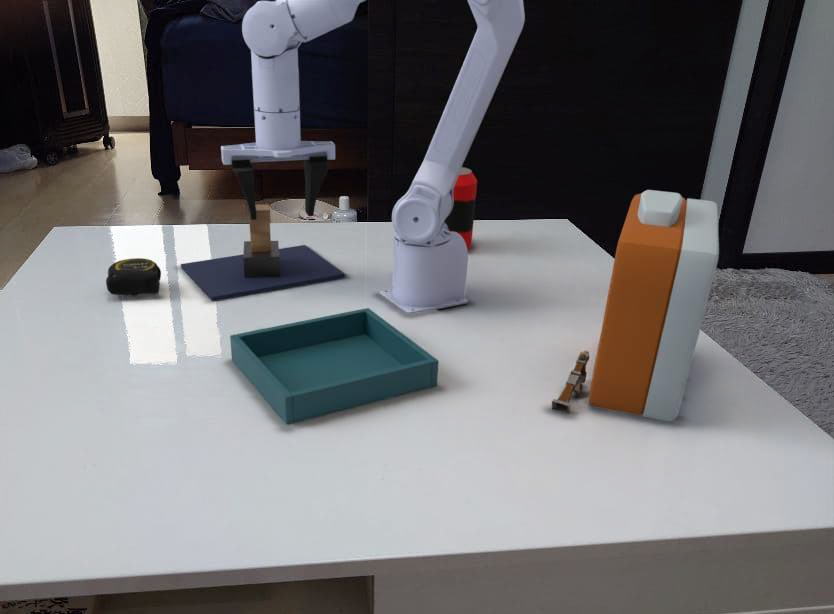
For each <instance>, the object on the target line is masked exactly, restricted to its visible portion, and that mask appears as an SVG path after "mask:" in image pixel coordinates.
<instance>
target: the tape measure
mask: <svg viewBox="0 0 834 614" xmlns="http://www.w3.org/2000/svg"><path fill="white" fill-rule="evenodd" d="M161 277H162V270H161V268H160V267H159V266H158V264H157V262H155V261H153V259H149V258H142V257H137V258H135V257H134V258H125V259H120V260H118V261H115V262H113V263H112V264H111V265H110V266H109V267H108V269H107V277H106V280H105V284H106V285H105V286H106V290H107V291H108V292H109V293H110V294H111V295H114V296H115V295H116V296H131V297H136V296H139V295H149V294H151V295H153V294H154V295H155V294H159V293H160V285H161Z"/></svg>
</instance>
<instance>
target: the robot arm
mask: <svg viewBox="0 0 834 614" xmlns="http://www.w3.org/2000/svg"><path fill="white" fill-rule="evenodd" d="M363 2H366V0H274V1H270V0H259V1H257V2H256V3H255V4H254V5H253V6H252V7H250V8H249V9H248V10H247V11H246V13H245V14H244V16H243V19H242V24H241V32H242V37H243V40H244V42H245V44H246V45H247V47H248V48H249V50H250V57H251V79H252V96H253V97H252V98H253V116H254V131H255V132H254V133H255V142H250V143H248V142H247V143H240V144H232V145H221V146H220V153H221V162H222V165H223V166H224V165H225V166H228V165H230V167H231V169H232V171H233V172H234V175H235V176H236V178H237V180H238V182H239V185H240V187H241V190H242V192H243V195H244V199H245V201H246V204H247V210H248V217H249V216H250V218H251V220H257V216H256V206H255V205H256V199H255V171H254V170H253V165H252V164H251V163H262V162H263V163H265V162H287V161H303V169H304V184H305V194H304V195H305V196H304V207H305V214H306V215H307V216H308V217H314V215H315V207H316V202H317V198H318V195H319V193H320V189H321V187H322V184H323V182H324V180H325V178H326V176H327V174H328V171H329V168H330V163H329V162H328V161H331V160H333V161H334V160H336V144H335V143H334V142H333V141H332V140H331V141H311V140H302V137H301V108H300V107H301V105H300V104H301V103H300V72H299V71H300V70H299V50H298V49H299V47H300V46H301V44H303V43H308V42H310V41H312V40H314V39H316V38H318V37H320V36H322V35H325V34H327V33H329V32H331V31H333V30H335V29H337V28H340V27H342V26H344V25H346V24H349V23H351V22H352V21H353V20H354V18H355V14H356V12H357V10H358V7H359V5H360V4H361V3H363ZM467 3H468V5H469V7H470V10H471V13H472V15H473V17H474V20H475V23H476V26H477V29H476V32H475V34H474V36H473V39H472V41H471V44H470V46H469V49H468V51H467V53H466V56H465V58H464V61H463V64H462V66H461V68H460V70H459V73H458V76H457V78H456V80H455V83H454V84H453V88H452V90H451V93H450V95H449V98H448V100H447V103H446V104H445V107H444V110H443V111H442V115H441V117H440V120H439V122H438V124H437V127H436V129H435V130H434V131H435V132H434V134H433V135H432V139H431V140H430V141H431V142H430V143H429V146H428V149H427V151H426V154H425V156H424V158H423V161H422V163H421V165H420V167H419V168H418V171H417V172H416V174H415V176H414V178H413V180H412V182H411V184H410V186H409V188H408V190H407V191H406V193H405V194H404V195H403V196H401V197H400V198H399V199H398V200H397V201H396V203H395V205H394V206H393V208H392V212H391V223H392V227H393V229H394V236H393V262H392V284H391V285H392V287H391V288H390V289H385V290H384V289H383V290H380V291H379V294H380V295H381V296H383V297H384V298H386V299H387V300H388V301H390V302H391V303H392V304H394V305H395V306H397V307H398V308H400V309H401V310H403V312H405V313H407V314H414V313H419V312H425V311H428V310H434V309H435V310H442V309H445V308H450V307H456V306H460V305H465V304H468V301H469V300H468V298H466V297H465V295H466V285H467V276H468V263H469V252H468V251H469V250H467V246H466V243H465V241H464V239H463V238H462V236H461V235H460V234H458V233H457V232H450V231H449V229H448V227H447V225H446V223H444V220H445V219H446V218H447V217H448V216H449V214H450V213H451V211H452V208H453V203H454V199H453V190H454V186H455V183H456V181H457V179H458V176H459V172H460V169H461V167H463V165H464V162H465V160H466V158H467V156H468V153H469V151H470V149H471V147H472V145H473V142H474V140H475V138H476V135H477V133H478V131H479V128H480V126H481V124H482V122H483V120H484V117H485V115H486V113H487V111H488V108H489V106H490V104H491V101H492V99H493V97H494V94H495V92H496V89H497V87H498V85H499V83H500V81H501V79H502V76H503V74H504V71H505V69H506V67H507V65H508V62H509V60H510V58H511V56H512V53H513V52H514V49H515V47H516V44H517V42H518V39H519V37H520V35H521V33H522V31H523V28H524V24H525V21H526V18H525V17H526V14H525V7H524V0H467Z"/></svg>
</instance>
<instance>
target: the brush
mask: <svg viewBox="0 0 834 614" xmlns="http://www.w3.org/2000/svg"><path fill="white" fill-rule="evenodd" d="M255 206H256V216H257V220H251V218H250V216H249V215H248V219H249V220H248V221H249V236H250V240H245V241H243V254H242V255H243V262H244V277H245V278H253V277H280V263H279V249H280V248H279V247H280V246H279V245H280V244H279V240H272V239H271V237H272V236H271V219H270V204H268V203H267V204H255Z"/></svg>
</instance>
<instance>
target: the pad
mask: <svg viewBox="0 0 834 614" xmlns="http://www.w3.org/2000/svg"><path fill="white" fill-rule="evenodd" d="M279 263H280V277H253V278H245V277H244V262H243V254H238V255H231V256H224V257H217V258H210V259H205V260H197V261H192V262H185V263H181V264H180V268H181V269H182V270H183V272H184V273H186V275H187V276H188V277H189V278H190V280H192V281H193V282H194V284H196V285H197V286H198V288H199V289H200V290H201V291H202V292H203V293H204V294H205V295H206V296H207V298H209V300H211V302H214V301H221V300H226V299H231V298H237V297H243V296H247V295H253V294H259V293H260V294H261V293H264V292H272V291H277V290H282V289H287V288H292V287H298V286H304V285H311V284H316V283H322V282H326V281H332V280H338V279H339V280H340V279H343V278H346V273H345V272H343V271H342V270H341V269H339V268H338V267H337V266H335V265H333V264H332V263H331V262H330V261H328V260H327V259H325V258H324V257H323V256H321V255H320V254H318V253H317V252H315V251H314V250H313V249H311V248H310V247H309V246H307V245H305V244H302V245H296V246H289V247H282V248H279Z"/></svg>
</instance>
